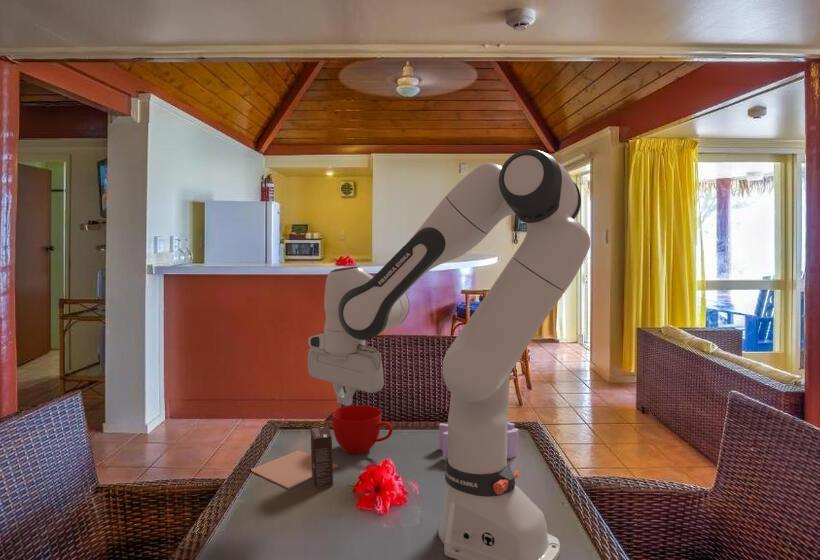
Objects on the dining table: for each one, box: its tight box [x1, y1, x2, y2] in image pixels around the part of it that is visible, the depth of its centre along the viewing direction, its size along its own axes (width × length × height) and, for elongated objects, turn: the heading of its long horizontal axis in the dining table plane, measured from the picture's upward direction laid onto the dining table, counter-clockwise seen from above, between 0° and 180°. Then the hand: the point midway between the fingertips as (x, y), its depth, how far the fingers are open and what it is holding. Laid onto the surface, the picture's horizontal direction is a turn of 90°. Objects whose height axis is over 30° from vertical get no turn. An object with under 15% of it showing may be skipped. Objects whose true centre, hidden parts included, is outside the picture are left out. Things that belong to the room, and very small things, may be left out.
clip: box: [438, 421, 520, 461], centre depth 139 cm, size 20×12×7 cm, turn 95°
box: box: [310, 425, 334, 489], centre depth 121 cm, size 6×4×12 cm
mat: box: [250, 450, 339, 490], centre depth 129 cm, size 15×15×1 cm
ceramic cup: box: [331, 404, 394, 455], centre depth 139 cm, size 13×17×10 cm
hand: (344, 404), depth 115 cm, fingers closed
